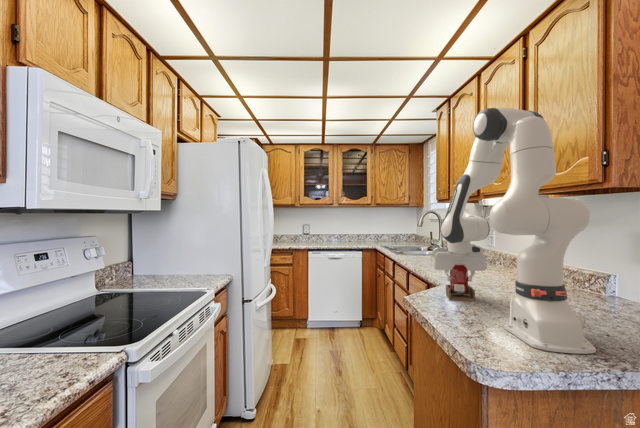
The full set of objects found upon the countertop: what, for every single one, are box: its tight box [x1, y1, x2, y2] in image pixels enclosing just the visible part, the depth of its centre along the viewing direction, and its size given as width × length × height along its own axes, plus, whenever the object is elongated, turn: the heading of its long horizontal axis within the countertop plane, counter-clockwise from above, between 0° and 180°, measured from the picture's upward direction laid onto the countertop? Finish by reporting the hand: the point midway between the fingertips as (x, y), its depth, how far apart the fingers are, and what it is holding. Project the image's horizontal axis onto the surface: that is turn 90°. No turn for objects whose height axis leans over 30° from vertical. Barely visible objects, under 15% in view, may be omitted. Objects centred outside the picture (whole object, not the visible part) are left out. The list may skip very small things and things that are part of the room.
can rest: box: [445, 284, 476, 302], centre depth 130 cm, size 10×10×4 cm
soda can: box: [449, 264, 469, 294], centre depth 130 cm, size 7×7×12 cm
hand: (459, 280), depth 130 cm, fingers open, 6 cm apart
